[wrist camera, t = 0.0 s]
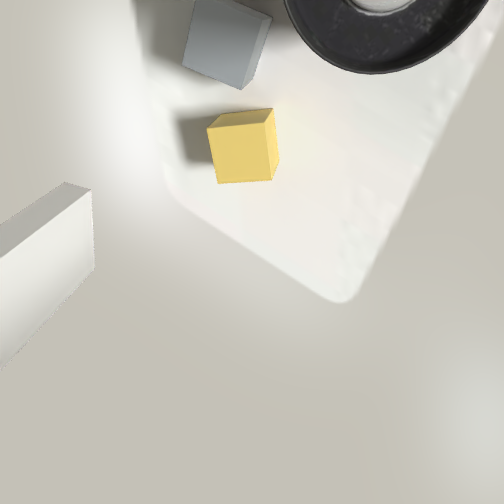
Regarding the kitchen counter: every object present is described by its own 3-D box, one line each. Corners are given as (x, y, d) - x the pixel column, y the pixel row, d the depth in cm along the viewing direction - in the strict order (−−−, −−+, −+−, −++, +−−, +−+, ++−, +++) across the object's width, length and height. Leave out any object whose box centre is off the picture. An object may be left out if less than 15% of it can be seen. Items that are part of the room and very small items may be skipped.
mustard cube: (221, 113, 37) (206, 128, 33) (273, 108, 36) (264, 122, 31) (230, 164, 39) (217, 183, 35) (279, 160, 38) (271, 180, 34)
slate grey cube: (216, -7, 31) (197, -8, 27) (272, 17, 32) (262, 20, 28) (200, 57, 34) (181, 65, 30) (252, 79, 35) (240, 90, 30)
